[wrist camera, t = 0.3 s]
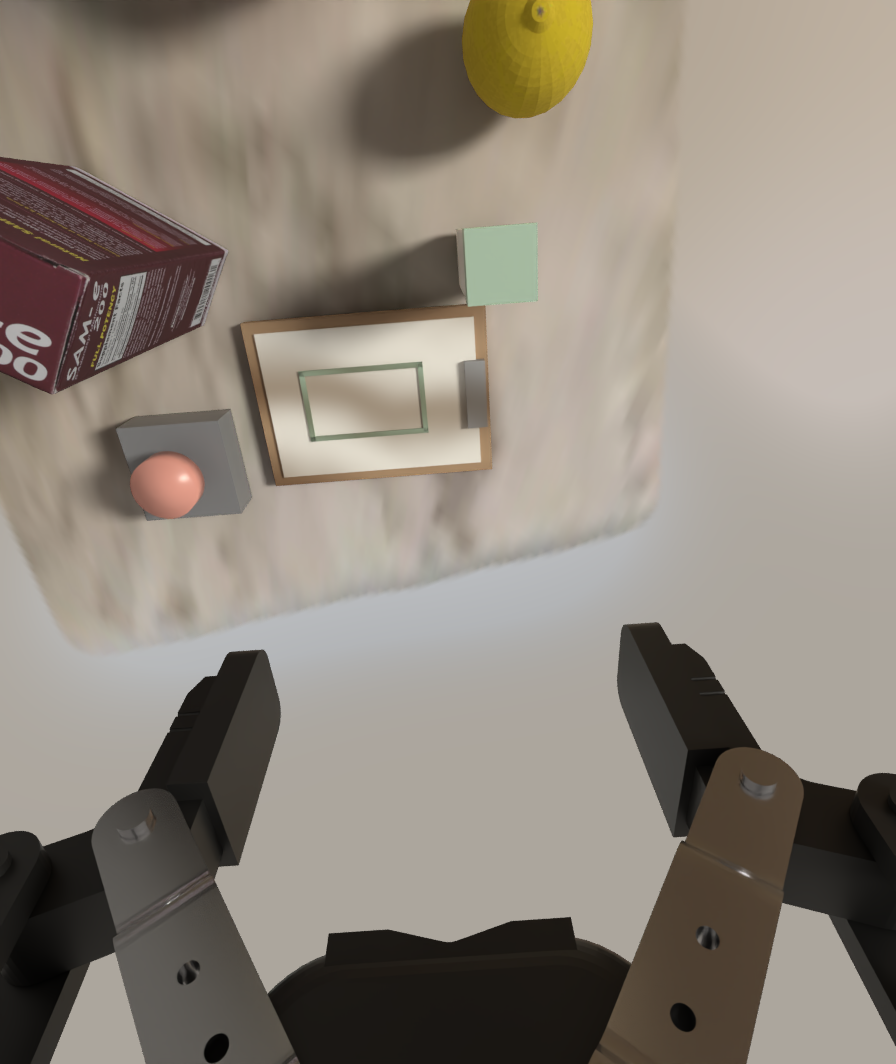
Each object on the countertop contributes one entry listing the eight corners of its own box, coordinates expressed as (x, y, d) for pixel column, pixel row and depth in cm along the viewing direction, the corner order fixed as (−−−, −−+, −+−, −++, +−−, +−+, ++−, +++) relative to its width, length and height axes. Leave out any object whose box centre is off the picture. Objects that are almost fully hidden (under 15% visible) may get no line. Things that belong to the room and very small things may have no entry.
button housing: (134, 416, 37) (115, 428, 35) (230, 409, 37) (217, 420, 35) (162, 504, 40) (147, 520, 37) (252, 497, 40) (241, 513, 37)
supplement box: (54, 253, 33) (-231, 273, 19) (75, 163, 31) (-226, 109, 17) (207, 331, 35) (54, 402, 21) (235, 251, 33) (88, 269, 19)
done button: (133, 453, 34) (121, 462, 33) (195, 448, 34) (185, 457, 33) (152, 510, 36) (141, 521, 34) (211, 505, 36) (202, 516, 34)
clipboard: (244, 322, 35) (237, 325, 33) (484, 302, 34) (486, 305, 33) (278, 481, 39) (273, 489, 38) (490, 464, 39) (493, 472, 38)
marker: (454, 228, 33) (463, 228, 23) (507, 224, 33) (537, 222, 23) (457, 285, 34) (467, 306, 25) (508, 280, 34) (537, 301, 25)
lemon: (440, 26, 29) (443, -40, 22) (548, -35, 28) (588, -125, 21) (484, 150, 31) (499, 127, 24) (584, 97, 30) (632, 57, 23)
